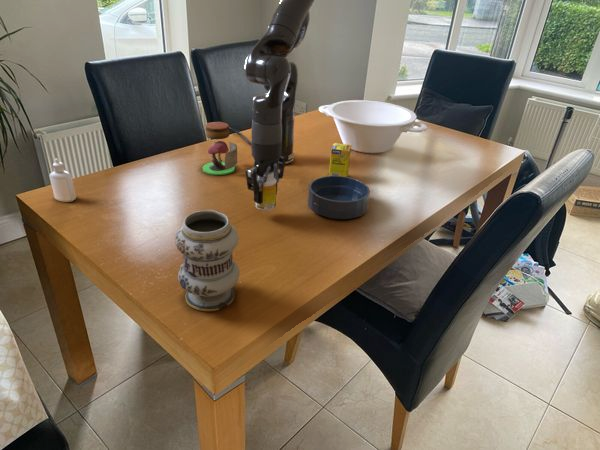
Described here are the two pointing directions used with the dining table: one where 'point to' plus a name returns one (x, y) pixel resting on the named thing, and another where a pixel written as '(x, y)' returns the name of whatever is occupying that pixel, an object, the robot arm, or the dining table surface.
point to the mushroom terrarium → (220, 150)
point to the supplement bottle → (268, 193)
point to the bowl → (338, 197)
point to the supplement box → (339, 160)
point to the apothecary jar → (207, 260)
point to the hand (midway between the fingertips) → (265, 198)
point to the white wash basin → (371, 124)
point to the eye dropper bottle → (62, 183)
